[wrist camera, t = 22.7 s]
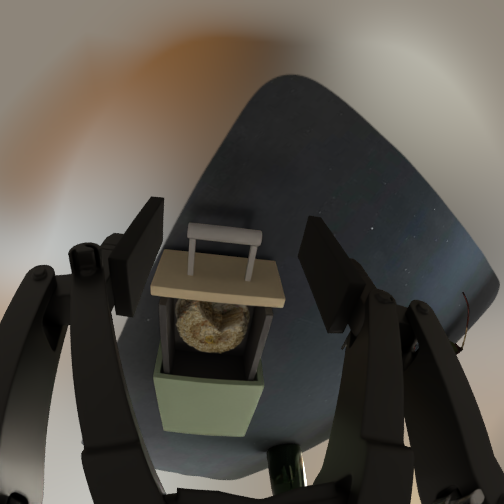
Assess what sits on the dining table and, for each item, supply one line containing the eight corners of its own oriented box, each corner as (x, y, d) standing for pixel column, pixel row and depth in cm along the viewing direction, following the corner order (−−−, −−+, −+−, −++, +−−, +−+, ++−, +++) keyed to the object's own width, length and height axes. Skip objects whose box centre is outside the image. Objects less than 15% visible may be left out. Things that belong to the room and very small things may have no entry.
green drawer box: (163, 328, 40) (153, 376, 32) (258, 337, 42) (264, 385, 34) (168, 391, 49) (163, 430, 41) (241, 397, 51) (244, 436, 43)
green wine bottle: (286, 440, 66) (302, 540, 38) (306, 445, 70) (323, 535, 42) (259, 450, 69) (269, 544, 41) (280, 455, 73) (292, 540, 45)
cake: (235, 342, 40) (234, 372, 36) (169, 325, 38) (162, 355, 33) (262, 297, 35) (264, 330, 31) (184, 274, 33) (176, 306, 28)
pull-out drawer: (165, 203, 30) (149, 232, 23) (285, 217, 31) (300, 249, 25) (166, 346, 41) (160, 384, 34) (251, 354, 43) (255, 391, 36)
